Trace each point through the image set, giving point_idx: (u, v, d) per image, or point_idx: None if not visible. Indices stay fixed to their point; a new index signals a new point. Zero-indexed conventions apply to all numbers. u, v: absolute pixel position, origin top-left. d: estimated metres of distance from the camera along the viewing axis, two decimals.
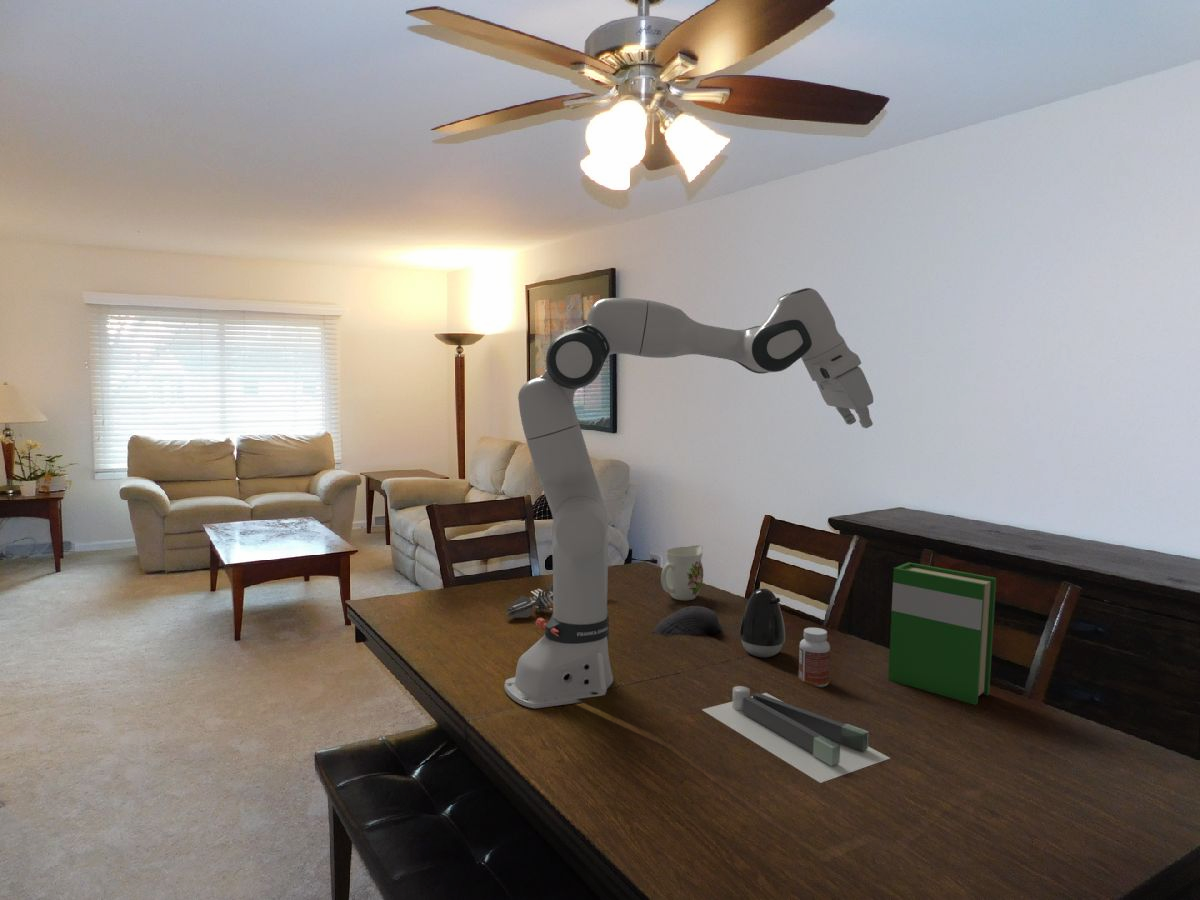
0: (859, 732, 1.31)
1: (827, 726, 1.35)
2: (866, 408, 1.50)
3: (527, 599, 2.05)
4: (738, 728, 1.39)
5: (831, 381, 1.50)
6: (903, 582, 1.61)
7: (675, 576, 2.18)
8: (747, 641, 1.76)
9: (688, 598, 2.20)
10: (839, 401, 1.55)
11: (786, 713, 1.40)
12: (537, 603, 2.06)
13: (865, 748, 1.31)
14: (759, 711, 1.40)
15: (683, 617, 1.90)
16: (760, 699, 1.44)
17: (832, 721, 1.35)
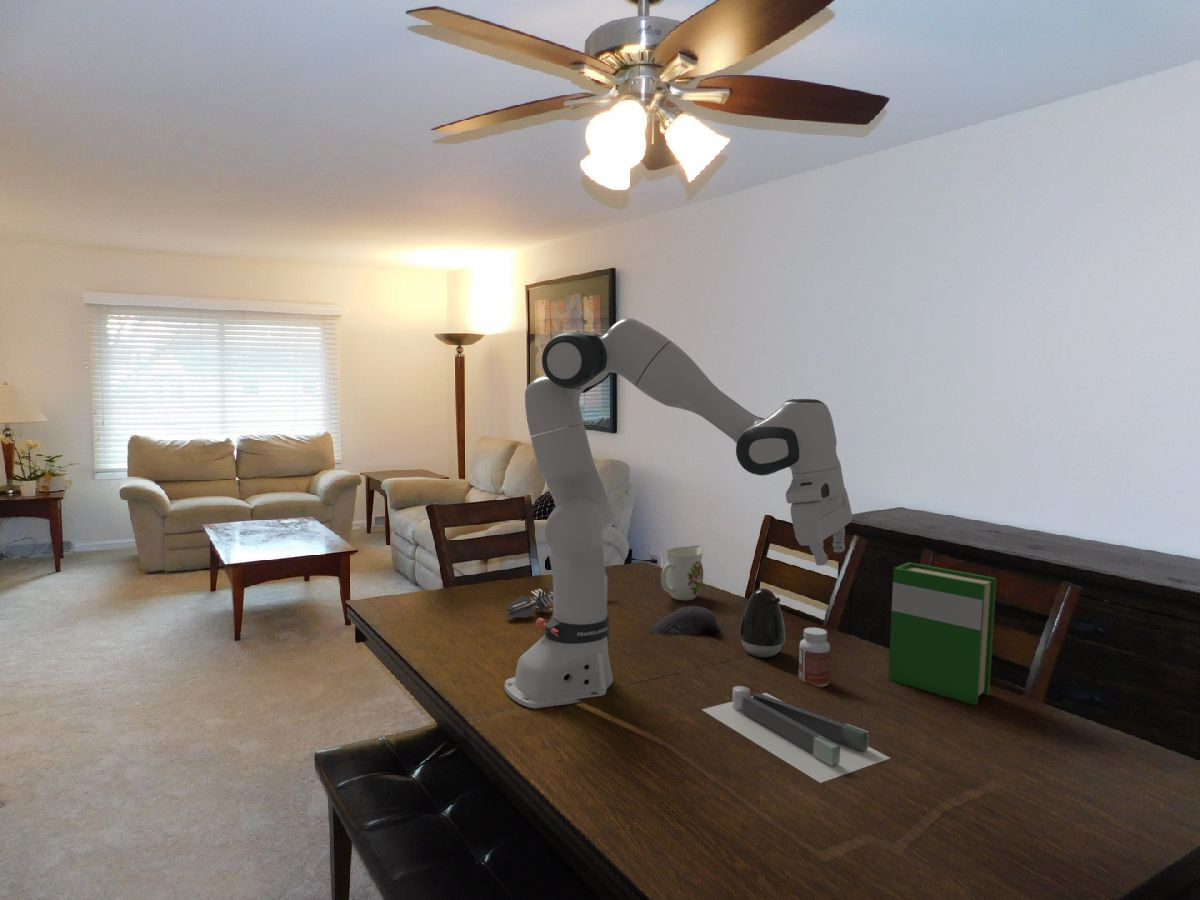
0: (859, 732, 1.31)
1: (827, 726, 1.35)
2: (819, 546, 1.38)
3: (527, 599, 2.05)
4: (738, 728, 1.39)
5: None
6: (903, 582, 1.61)
7: (675, 576, 2.18)
8: (747, 641, 1.76)
9: (688, 598, 2.20)
10: None
11: (786, 713, 1.40)
12: (537, 603, 2.06)
13: (865, 748, 1.31)
14: (759, 711, 1.40)
15: (681, 617, 1.90)
16: (760, 699, 1.44)
17: (832, 721, 1.35)
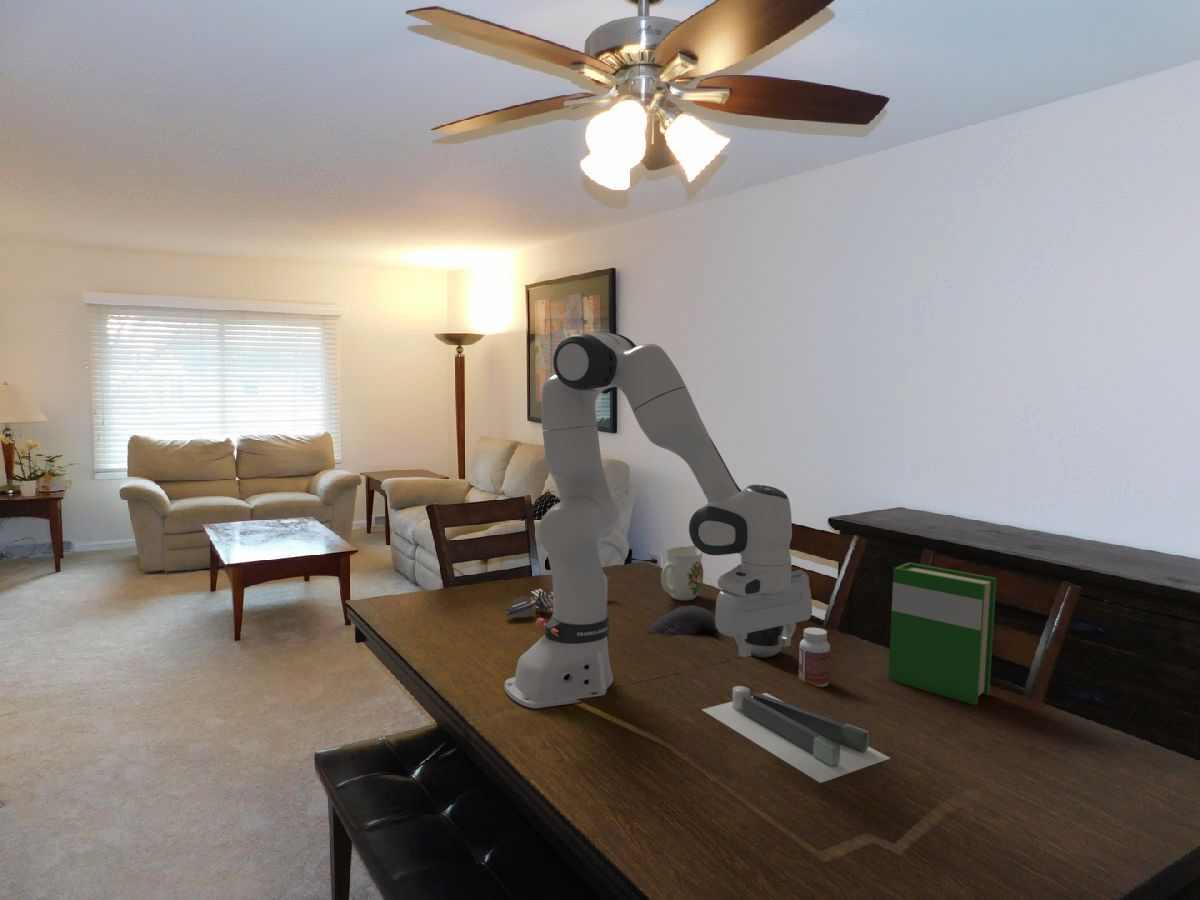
0: (859, 732, 1.31)
1: (827, 726, 1.35)
2: (739, 638, 1.37)
3: (527, 599, 2.05)
4: (738, 728, 1.39)
5: None
6: (903, 582, 1.61)
7: (675, 576, 2.18)
8: (747, 641, 1.76)
9: (688, 598, 2.20)
10: None
11: (786, 713, 1.40)
12: (537, 603, 2.06)
13: (865, 748, 1.31)
14: (759, 711, 1.40)
15: (678, 617, 1.91)
16: (760, 699, 1.44)
17: (832, 721, 1.35)
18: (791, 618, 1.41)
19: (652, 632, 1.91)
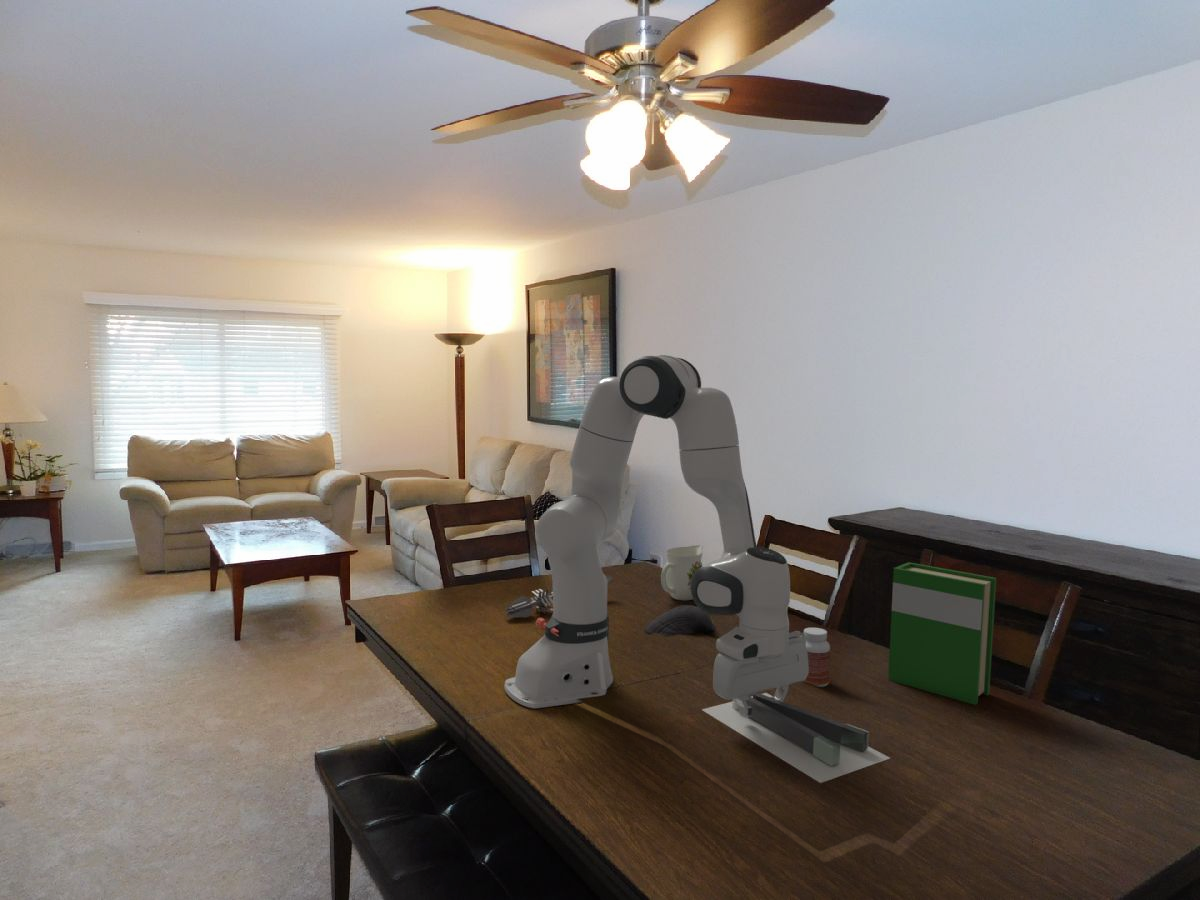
0: (859, 732, 1.31)
1: (827, 726, 1.35)
2: (740, 699, 1.39)
3: (527, 599, 2.05)
4: (738, 728, 1.39)
5: None
6: (903, 582, 1.61)
7: (675, 576, 2.18)
8: None
9: (688, 598, 2.20)
10: None
11: (786, 713, 1.40)
12: (537, 603, 2.06)
13: (865, 748, 1.31)
14: (759, 711, 1.40)
15: (675, 616, 1.91)
16: (760, 699, 1.44)
17: (832, 721, 1.35)
18: (788, 679, 1.43)
19: (649, 631, 1.92)
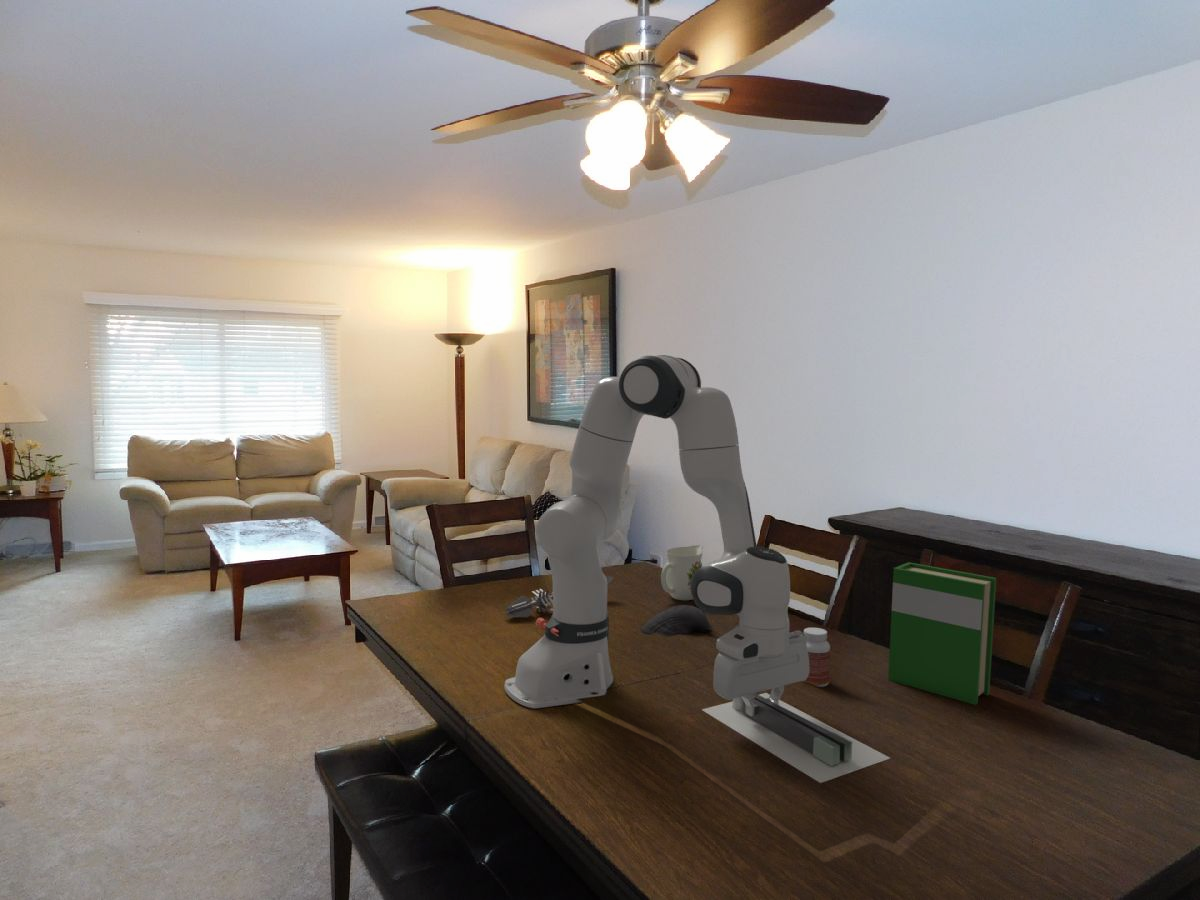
0: (841, 741, 1.27)
1: None
2: (747, 697, 1.39)
3: (527, 599, 2.05)
4: (738, 728, 1.39)
5: None
6: (903, 582, 1.61)
7: (675, 576, 2.18)
8: None
9: (688, 598, 2.20)
10: None
11: None
12: (537, 603, 2.06)
13: (847, 758, 1.27)
14: (759, 711, 1.40)
15: (671, 616, 1.91)
16: (757, 700, 1.44)
17: (819, 728, 1.32)
18: (788, 679, 1.43)
19: (645, 631, 1.92)
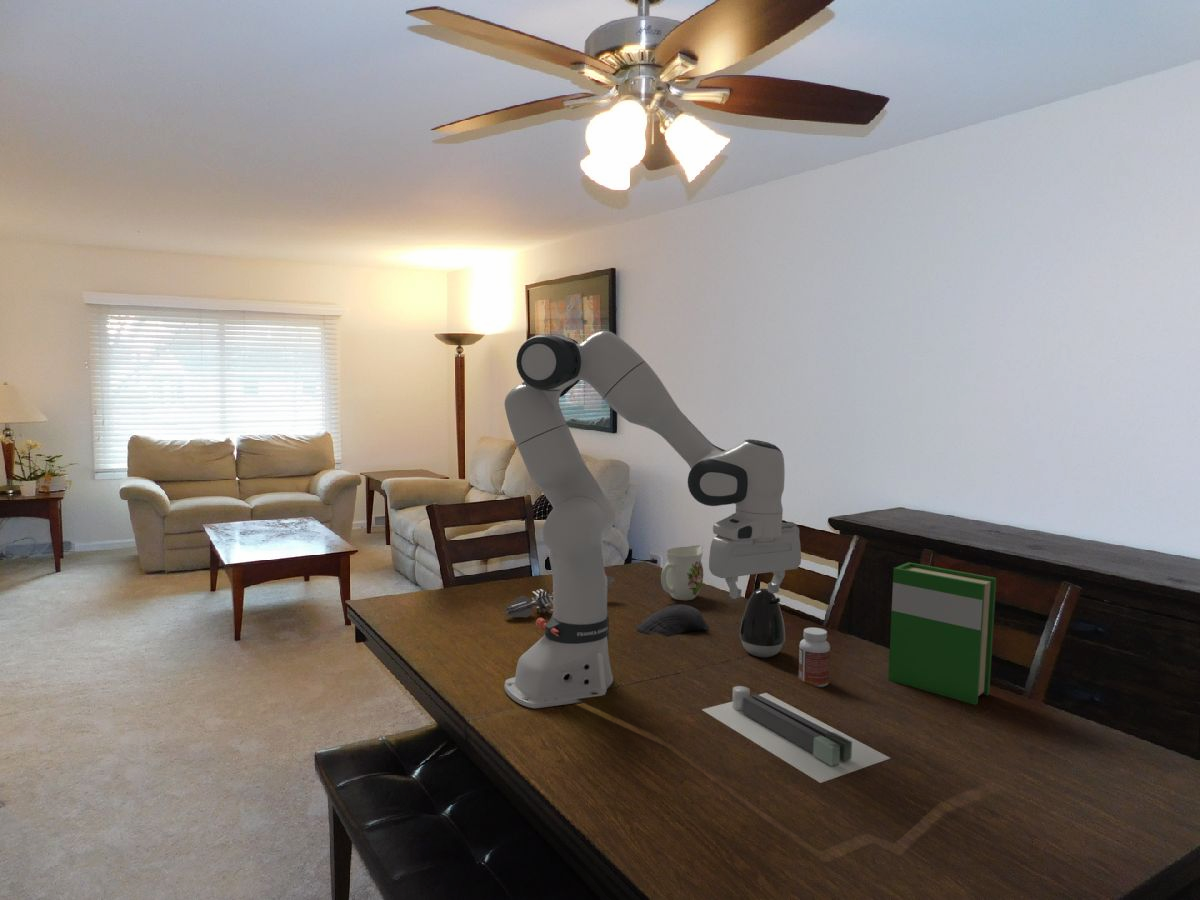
0: (841, 741, 1.27)
1: None
2: (730, 580, 1.47)
3: (527, 599, 2.05)
4: (738, 728, 1.39)
5: None
6: (903, 582, 1.61)
7: (675, 576, 2.18)
8: (747, 641, 1.76)
9: (688, 598, 2.20)
10: None
11: None
12: (537, 603, 2.06)
13: (847, 758, 1.27)
14: (759, 711, 1.40)
15: (666, 615, 1.92)
16: (757, 700, 1.44)
17: (819, 728, 1.32)
18: (780, 566, 1.51)
19: (641, 630, 1.93)
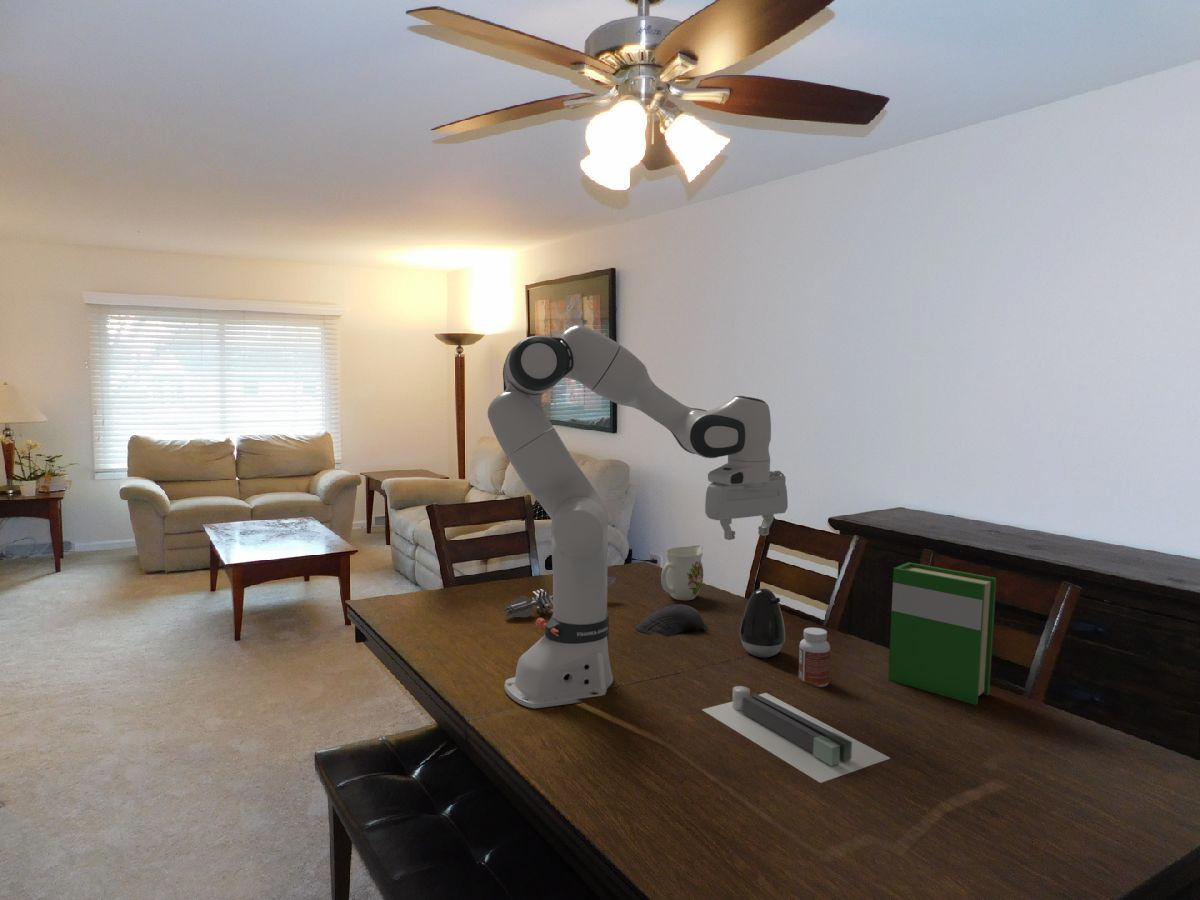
0: (841, 741, 1.27)
1: None
2: (725, 523, 1.62)
3: (527, 599, 2.05)
4: (738, 728, 1.39)
5: None
6: (903, 582, 1.61)
7: (675, 576, 2.18)
8: (747, 641, 1.76)
9: (688, 598, 2.20)
10: None
11: None
12: (537, 603, 2.06)
13: (847, 758, 1.27)
14: (759, 711, 1.40)
15: (665, 615, 1.92)
16: (757, 700, 1.44)
17: (819, 728, 1.32)
18: (769, 510, 1.67)
19: (639, 629, 1.93)
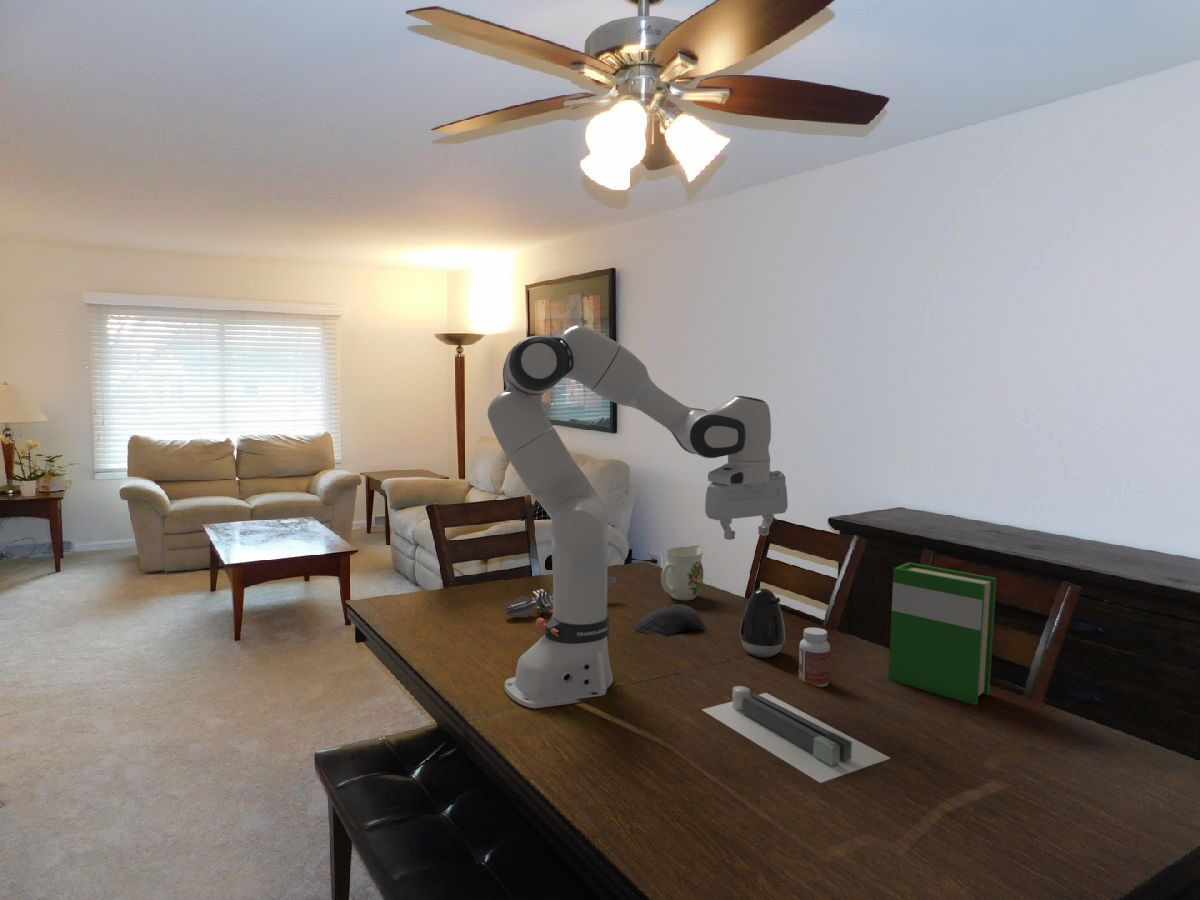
0: (841, 741, 1.27)
1: None
2: (725, 523, 1.62)
3: (527, 599, 2.05)
4: (738, 728, 1.39)
5: None
6: (903, 582, 1.61)
7: (675, 576, 2.18)
8: (747, 641, 1.76)
9: (688, 598, 2.20)
10: None
11: None
12: (538, 603, 2.06)
13: (847, 758, 1.27)
14: (759, 711, 1.40)
15: (663, 615, 1.92)
16: (757, 700, 1.44)
17: (819, 728, 1.32)
18: (769, 510, 1.67)
19: (637, 629, 1.93)
